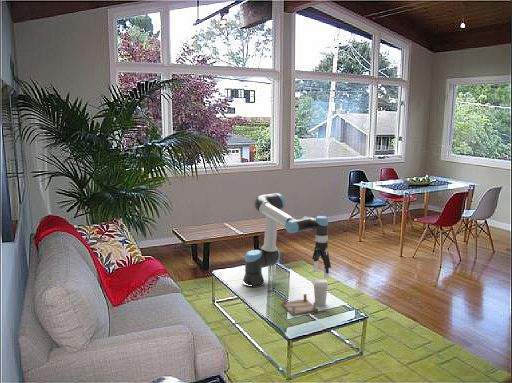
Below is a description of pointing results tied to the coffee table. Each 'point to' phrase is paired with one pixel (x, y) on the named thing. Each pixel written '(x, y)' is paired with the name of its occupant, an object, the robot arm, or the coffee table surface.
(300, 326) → the coffee table surface
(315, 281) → the coffee cup
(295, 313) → the standoff base
